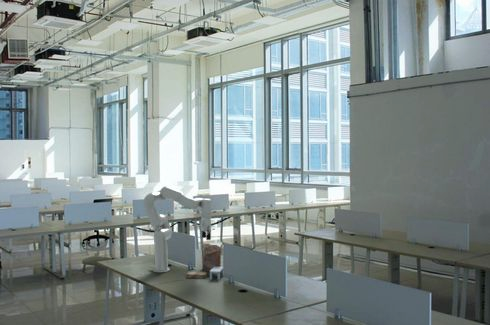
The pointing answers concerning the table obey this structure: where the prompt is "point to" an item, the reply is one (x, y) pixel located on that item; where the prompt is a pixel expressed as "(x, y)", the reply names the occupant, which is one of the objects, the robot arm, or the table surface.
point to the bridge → (216, 272)
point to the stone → (210, 256)
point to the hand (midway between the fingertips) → (206, 238)
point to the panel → (196, 274)
